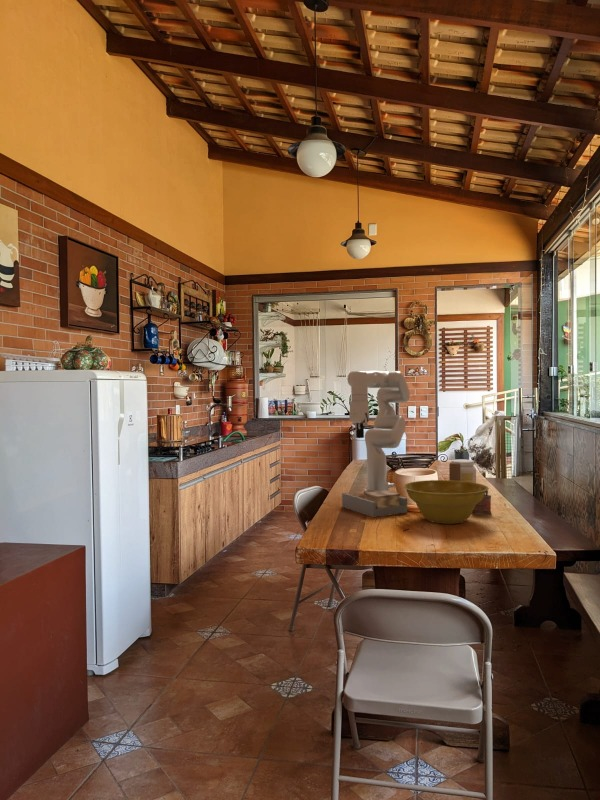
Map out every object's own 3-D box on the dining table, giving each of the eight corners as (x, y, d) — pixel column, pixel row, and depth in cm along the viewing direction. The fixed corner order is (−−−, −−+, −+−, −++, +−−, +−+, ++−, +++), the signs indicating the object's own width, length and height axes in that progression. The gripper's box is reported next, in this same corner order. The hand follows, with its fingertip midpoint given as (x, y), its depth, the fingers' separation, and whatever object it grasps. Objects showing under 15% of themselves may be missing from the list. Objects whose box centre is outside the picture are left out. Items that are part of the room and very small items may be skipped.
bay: (374, 502, 256) (374, 489, 256) (407, 512, 235) (407, 498, 235) (342, 506, 248) (342, 493, 248) (373, 517, 227) (373, 502, 227)
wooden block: (471, 503, 253) (471, 463, 252) (470, 505, 249) (470, 464, 248) (450, 502, 256) (450, 462, 255) (449, 504, 252) (449, 463, 251)
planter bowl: (390, 514, 233) (389, 481, 233) (460, 509, 242) (459, 477, 241) (427, 533, 202) (427, 495, 202) (506, 526, 211) (506, 490, 210)
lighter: (491, 513, 233) (491, 488, 233) (490, 514, 230) (490, 490, 230) (471, 511, 237) (471, 487, 236) (470, 513, 234) (470, 488, 233)
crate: (386, 505, 243) (386, 490, 243) (400, 509, 235) (400, 493, 235) (364, 508, 238) (364, 492, 238) (377, 512, 230) (377, 496, 229)
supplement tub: (456, 492, 279) (456, 458, 278) (480, 495, 271) (480, 460, 271) (444, 496, 270) (444, 460, 269) (469, 499, 262) (469, 463, 261)
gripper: (343, 398, 267) (344, 437, 267) (362, 398, 253) (362, 439, 254) (357, 397, 270) (357, 436, 271) (375, 398, 257) (376, 438, 258)
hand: (360, 437), depth 262 cm, fingers closed
